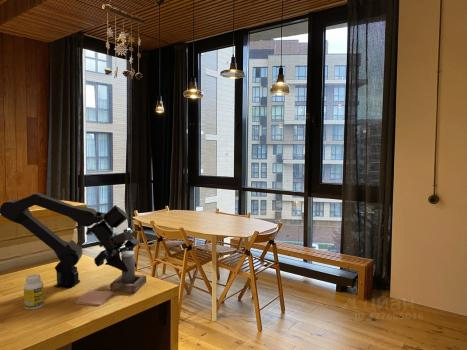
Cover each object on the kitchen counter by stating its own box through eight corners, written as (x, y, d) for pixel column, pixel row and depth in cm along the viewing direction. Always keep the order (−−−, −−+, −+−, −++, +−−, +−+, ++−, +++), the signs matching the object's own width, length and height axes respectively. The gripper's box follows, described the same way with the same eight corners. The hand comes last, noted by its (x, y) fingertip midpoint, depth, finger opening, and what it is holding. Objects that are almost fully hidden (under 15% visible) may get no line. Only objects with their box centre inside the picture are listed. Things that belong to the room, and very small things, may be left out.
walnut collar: (110, 291, 122) (109, 284, 122) (122, 280, 132) (122, 274, 131) (135, 292, 121) (135, 286, 121) (146, 282, 130) (146, 275, 130)
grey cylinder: (120, 288, 124) (119, 254, 123) (125, 283, 129) (124, 250, 128) (131, 289, 124) (131, 255, 122) (137, 284, 128) (136, 251, 127)
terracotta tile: (74, 303, 113) (74, 301, 113) (89, 291, 121) (89, 290, 121) (99, 305, 111) (99, 303, 111) (113, 293, 120) (113, 291, 120)
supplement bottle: (35, 310, 108) (33, 280, 107) (20, 309, 109) (18, 278, 108) (48, 303, 113) (46, 273, 112) (33, 301, 114) (32, 272, 113)
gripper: (99, 228, 117) (127, 264, 114) (134, 217, 134) (159, 248, 131) (82, 248, 120) (109, 284, 117) (118, 235, 138) (142, 265, 135)
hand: (131, 269), depth 125 cm, fingers closed on grey cylinder, 4 cm apart
